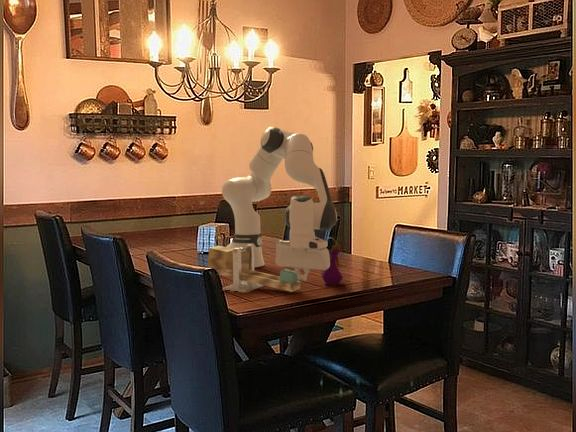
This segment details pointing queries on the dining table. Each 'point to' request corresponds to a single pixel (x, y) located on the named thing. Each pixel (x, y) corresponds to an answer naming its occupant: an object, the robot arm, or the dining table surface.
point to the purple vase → (332, 268)
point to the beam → (244, 269)
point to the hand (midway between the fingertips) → (302, 280)
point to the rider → (288, 276)
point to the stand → (237, 275)
